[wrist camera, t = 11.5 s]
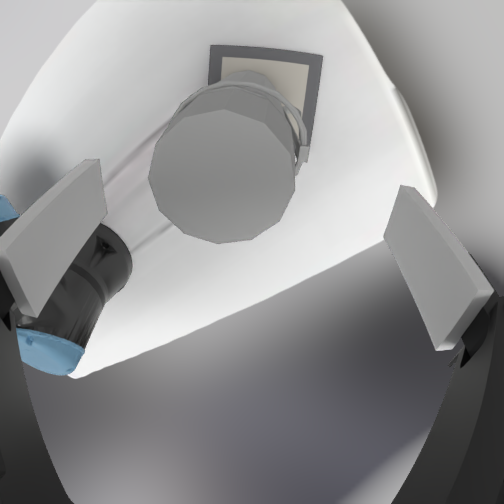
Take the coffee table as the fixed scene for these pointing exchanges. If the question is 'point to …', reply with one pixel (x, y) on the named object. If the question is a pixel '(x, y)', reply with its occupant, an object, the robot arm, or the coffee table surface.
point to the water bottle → (229, 160)
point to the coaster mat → (274, 75)
